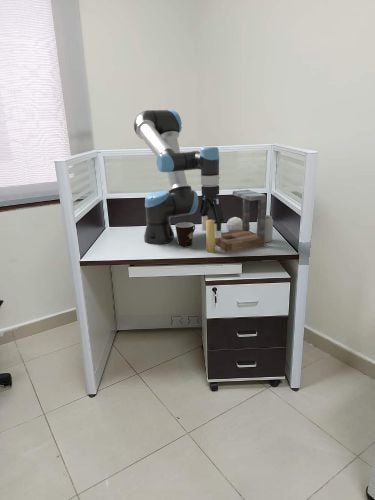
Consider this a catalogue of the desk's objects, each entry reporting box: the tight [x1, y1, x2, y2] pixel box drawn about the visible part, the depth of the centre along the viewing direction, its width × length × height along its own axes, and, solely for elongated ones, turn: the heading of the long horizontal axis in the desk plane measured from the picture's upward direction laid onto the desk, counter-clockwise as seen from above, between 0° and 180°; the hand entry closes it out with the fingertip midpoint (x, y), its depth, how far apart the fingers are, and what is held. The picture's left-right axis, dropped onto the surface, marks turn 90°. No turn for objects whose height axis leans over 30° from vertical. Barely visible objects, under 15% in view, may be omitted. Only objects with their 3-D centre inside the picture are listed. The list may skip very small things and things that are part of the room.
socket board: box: [215, 189, 267, 253], centre depth 160 cm, size 16×19×24 cm
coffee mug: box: [174, 221, 196, 248], centre depth 164 cm, size 12×9×10 cm
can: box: [256, 214, 274, 244], centre depth 165 cm, size 8×8×12 cm
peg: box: [205, 219, 216, 254], centre depth 154 cm, size 4×4×14 cm
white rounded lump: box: [226, 216, 251, 232], centre depth 178 cm, size 9×9×12 cm
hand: (211, 233), depth 153 cm, fingers open, 13 cm apart
